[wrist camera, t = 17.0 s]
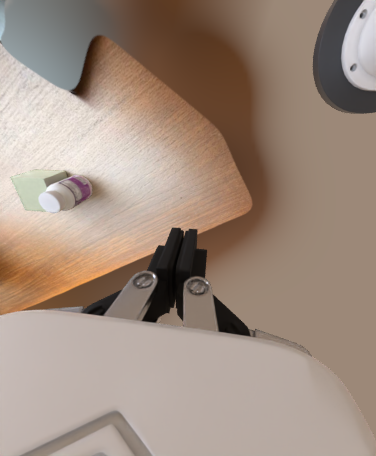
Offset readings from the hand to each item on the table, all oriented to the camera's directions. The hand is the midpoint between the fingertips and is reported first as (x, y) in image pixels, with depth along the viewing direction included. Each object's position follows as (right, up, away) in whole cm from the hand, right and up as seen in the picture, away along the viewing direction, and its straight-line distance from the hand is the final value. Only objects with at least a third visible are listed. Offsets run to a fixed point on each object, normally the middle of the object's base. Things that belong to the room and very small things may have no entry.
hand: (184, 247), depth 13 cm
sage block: (-29, +11, +30) cm, 43 cm away
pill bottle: (-23, +11, +29) cm, 39 cm away
